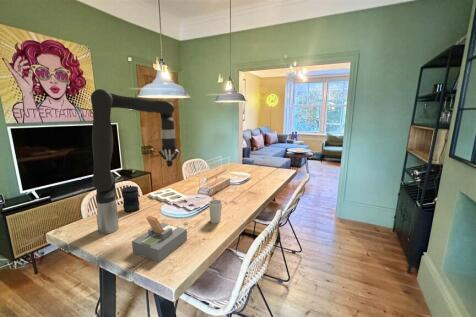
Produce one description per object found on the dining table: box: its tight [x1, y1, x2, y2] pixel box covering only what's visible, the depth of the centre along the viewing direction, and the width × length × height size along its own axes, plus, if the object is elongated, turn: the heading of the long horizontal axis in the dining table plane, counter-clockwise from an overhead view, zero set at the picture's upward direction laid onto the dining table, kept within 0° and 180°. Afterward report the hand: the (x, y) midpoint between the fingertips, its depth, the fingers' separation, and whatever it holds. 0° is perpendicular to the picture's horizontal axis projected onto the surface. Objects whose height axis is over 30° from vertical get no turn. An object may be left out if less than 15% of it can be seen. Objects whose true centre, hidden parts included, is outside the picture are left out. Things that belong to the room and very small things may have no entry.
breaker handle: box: [146, 215, 164, 235], centre depth 109 cm, size 2×5×12 cm, turn 65°
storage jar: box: [121, 185, 141, 214], centre depth 153 cm, size 10×10×15 cm
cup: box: [208, 199, 223, 224], centre depth 139 cm, size 8×8×12 cm
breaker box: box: [131, 222, 188, 263], centre depth 113 cm, size 20×16×9 cm
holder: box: [148, 187, 188, 203], centre depth 169 cm, size 45×18×3 cm, turn 44°
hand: (169, 166), depth 136 cm, fingers closed
